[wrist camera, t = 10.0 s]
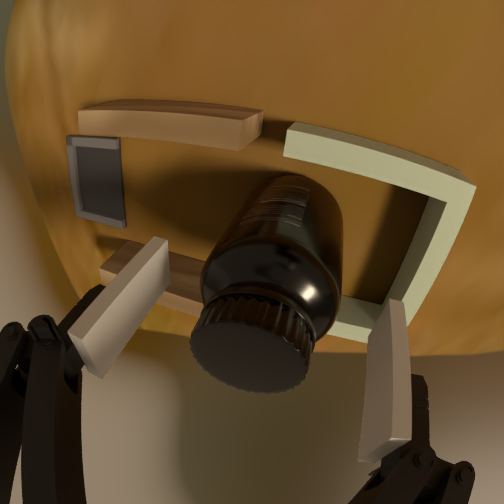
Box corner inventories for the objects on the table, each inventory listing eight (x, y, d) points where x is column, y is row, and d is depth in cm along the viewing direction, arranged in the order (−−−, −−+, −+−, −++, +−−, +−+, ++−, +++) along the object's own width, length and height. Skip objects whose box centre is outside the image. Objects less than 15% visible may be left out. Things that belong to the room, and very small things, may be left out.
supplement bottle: (231, 232, 23) (150, 357, 13) (272, 153, 19) (186, 256, 9) (311, 276, 23) (278, 420, 13) (363, 207, 19) (374, 355, 9)
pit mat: (70, 134, 22) (66, 136, 21) (120, 137, 21) (115, 139, 20) (80, 213, 26) (76, 216, 26) (126, 226, 25) (122, 229, 25)
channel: (119, 99, 19) (77, 110, 15) (263, 110, 17) (242, 120, 14) (130, 254, 27) (102, 282, 23) (241, 287, 25) (223, 325, 22)
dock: (295, 121, 17) (287, 129, 15) (459, 170, 15) (476, 186, 13) (265, 290, 25) (255, 315, 22) (391, 321, 23) (393, 348, 21)
